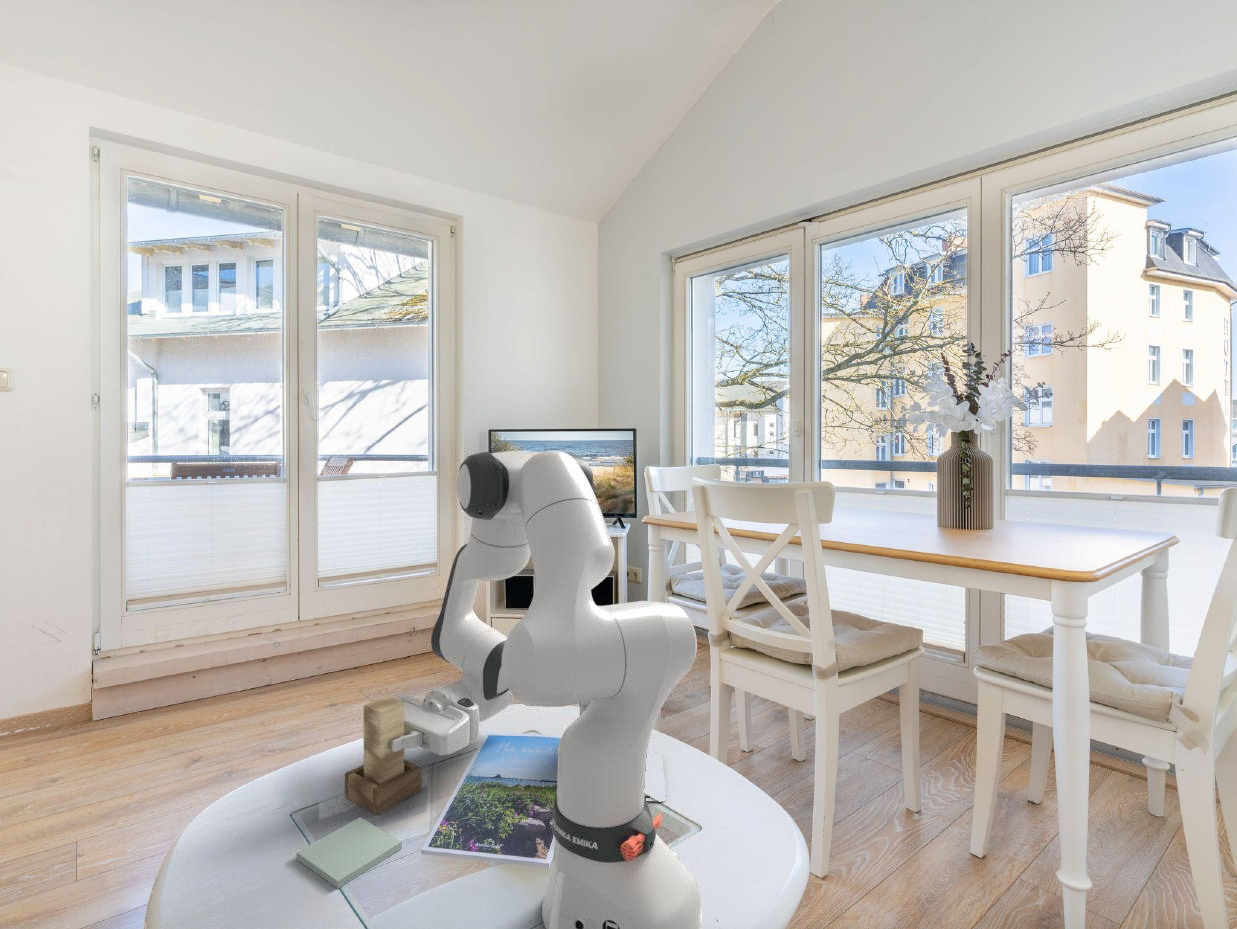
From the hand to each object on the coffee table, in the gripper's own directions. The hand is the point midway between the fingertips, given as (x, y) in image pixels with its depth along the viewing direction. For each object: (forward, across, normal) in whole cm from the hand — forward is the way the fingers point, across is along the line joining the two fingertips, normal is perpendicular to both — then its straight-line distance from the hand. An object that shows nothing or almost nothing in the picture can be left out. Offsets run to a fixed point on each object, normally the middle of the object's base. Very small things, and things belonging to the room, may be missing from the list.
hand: (379, 741), depth 104 cm
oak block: (-1, 0, +8) cm, 8 cm away
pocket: (-1, 0, +9) cm, 9 cm away
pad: (+11, +9, +10) cm, 17 cm away
